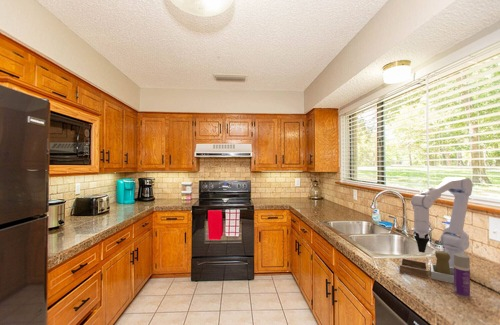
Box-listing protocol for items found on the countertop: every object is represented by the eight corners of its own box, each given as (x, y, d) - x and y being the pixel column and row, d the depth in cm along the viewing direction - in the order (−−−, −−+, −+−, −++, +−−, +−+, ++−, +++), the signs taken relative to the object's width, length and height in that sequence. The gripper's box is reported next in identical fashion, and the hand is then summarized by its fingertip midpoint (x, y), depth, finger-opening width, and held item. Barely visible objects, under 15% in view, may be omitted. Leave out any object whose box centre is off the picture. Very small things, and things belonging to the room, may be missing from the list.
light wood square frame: (400, 263, 122) (400, 257, 122) (427, 269, 116) (427, 262, 116) (399, 271, 113) (399, 265, 113) (428, 277, 107) (428, 271, 107)
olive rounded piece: (436, 278, 106) (436, 253, 107) (432, 272, 112) (432, 248, 112) (453, 281, 104) (453, 255, 104) (449, 275, 109) (449, 251, 109)
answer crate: (430, 269, 115) (430, 263, 115) (460, 275, 109) (460, 269, 109) (431, 278, 106) (431, 271, 106) (464, 285, 100) (464, 278, 100)
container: (465, 298, 90) (465, 258, 90) (451, 292, 94) (451, 254, 95) (472, 296, 92) (472, 256, 92) (458, 290, 96) (457, 252, 96)
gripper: (411, 216, 121) (411, 243, 121) (410, 222, 109) (411, 252, 109) (428, 218, 117) (429, 246, 117) (430, 224, 105) (430, 255, 105)
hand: (421, 249), depth 113 cm, fingers open, 7 cm apart
